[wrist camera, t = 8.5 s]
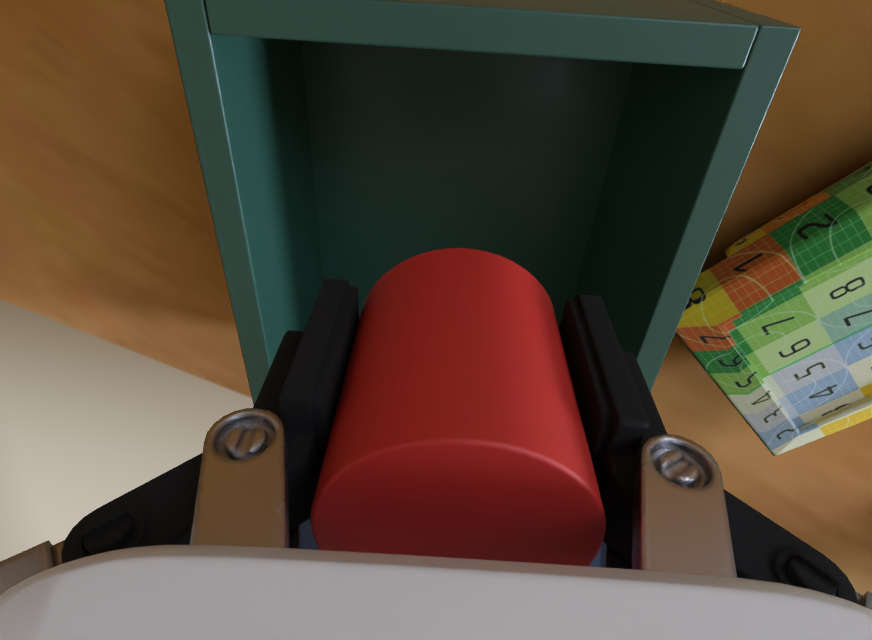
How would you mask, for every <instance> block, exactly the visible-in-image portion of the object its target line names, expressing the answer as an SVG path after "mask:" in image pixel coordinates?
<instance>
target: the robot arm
mask: <svg viewBox="0 0 872 640" xmlns="http://www.w3.org/2000/svg"><path fill="white" fill-rule="evenodd" d="M358 322H359V305H358V288H357V286H350V283H349V280H343V279H327V278H326V279H324V281H323V284H322V286H321V289H320V291H319V294H318V297H317V299H316V302H315V305H314V307H313V310H312V312H311V315H310V318H309V320H308V323H307V326H306V328H305V331H292V330H288V331H287V332H286V333H285V335H284V336H283V339H282V341H281V343H280V346H279V348H278V350H277V353H276V355H275V357H274V360H273V362H272V365H271V367H270V369H269V372H268V374H267V376H266V379H265V381H264V383H263V386H262V388H261V390H260V393H259V395H258V397H257V400H256V402H255V404H254V407H253V408H250V409H249V408H247V409H242V410H238V411H234V412H232V413H230V414H228V415H226V416H223V417H222V418H221V419H220V420H218V421H217V422H216V423H214V424H213V426H212V427H211V428H210V430H209V431H208V432H207V435H206V438H205V442H204V447H203V453H202V454H200V455H198V456H196V457H194V458H192V459H190V460H188V461H186V462H184V463H183V464H181V465H179V466H177V467H175V468H173V469H171V470H169V471H168V472H166V473H164V474H162V475H160V476H158V477H156V478H154V479H152V480H150V481H149V482H147V483H145V484H143V485H141V486H139V487H137V488H135V489H133V490H132V491H130V492H128V493H126V494H124V495H122V496H120V497H118V498H117V499H115V500H113V501H111V502H109V503H107V504H105V505H103V506H101V507H100V508H98V509H96V510H94V511H93V512H92V513H90V514H88V515H87V516H85V517H84V518H83V519H82V520H81V521H80V522H79V523H78V524H77V525H76V526H75V527H73V528H72V530H71V532H70V533H69V535H68V536H67V538H66V539H65V540H64V541H62V542H60V543H57V544H55V545H53V546H52V544H51V543H50V541H46V542H44V543H42V544H39V545H37V546H35V547H33V548H30V549H28V550H26V551H24V552H22V553H19V554H17V555H15V556H12V557H10V558H8V559H6V560H3V561H1V562H0V640H872V593H870V592H869V591H868V592H867V593H865V594H864V595H863V596H862V595H860V594H859V593H857V592H855V589H854V588H853V586H852V584H851V583H850V581H849V579H848V578H847V576H846V575H845V574H844V573H843V572H842V571H841V570H840V569H839V567H838V566H837V565H836V564H835V563H833V562H832V561H831V560H830V559H828V558H827V557H826V556H824V555H823V554H822V553H820V552H819V551H817V550H816V549H814V548H813V547H811V546H810V545H808V544H806V543H805V542H803V541H802V540H800V539H799V538H797V537H796V536H794V535H793V534H791V533H790V532H788V531H787V530H785V529H784V528H782V527H781V526H779V525H777V524H776V523H774V522H773V521H771V520H770V519H768V518H767V517H765V516H764V515H762V514H761V513H759V512H758V511H756V510H755V509H753V508H752V507H750V506H748V505H747V504H745V503H744V502H742V501H741V500H739V499H738V498H736V497H735V496H733V495H732V494H730V493H729V492H727V491H726V490H724V488H723V482H722V475H721V472H720V469H719V466H718V464H717V462H716V461H715V459H714V458H713V457H712V455H711V454H710V453H709V452H707V451H706V450H705V449H704V448H703V447H702V446H700V445H698V444H697V443H695V442H693V441H692V440H689V439H687V438H684V437H681V436H677V435H670V434H667V432H666V430H665V427H664V425H663V423H662V420H661V418H660V415H659V413H658V410H657V408H656V405H655V403H654V401H653V398H652V396H651V393H650V391H649V388H648V386H647V383H646V381H645V379H644V376H643V374H642V371H641V369H640V366H639V364H638V361H637V359H636V357H635V355H634V354H633V353H631V352H623V351H622V349H621V346H620V344H619V341H618V338H617V336H616V333H615V330H614V328H613V325H612V323H611V320H610V317H609V315H608V312H607V310H606V307H605V304H604V302H603V299H602V297H601V296H593V295H578V294H577V295H576V296H575V297H574V300H567V301H566V303H565V307H564V311H563V315H562V319H561V323H560V327H559V331H560V335H561V339H562V343H563V347H564V351H565V355H566V359H567V363H568V367H569V371H570V375H571V379H572V383H573V387H574V391H575V395H576V399H577V403H578V407H579V411H580V415H581V419H582V423H583V427H584V431H585V435H586V439H587V443H588V447H589V451H590V455H591V459H592V463H593V467H594V471H595V475H596V479H597V483H598V487H599V491H600V495H601V499H602V503H603V508H604V512H605V516H606V531H605V536H604V540H603V544H602V546H601V561H600V567H589V566H574V565H559V564H544V563H528V562H512V561H496V560H480V559H464V558H448V557H432V556H415V555H399V554H381V553H364V552H346V551H328V550H311V549H302V547H301V524H302V523H304V522H305V521H307V520H308V519H310V517H311V508H312V504H313V500H314V496H315V492H316V488H317V484H318V480H319V476H320V472H321V468H322V464H323V460H324V456H325V452H326V449H327V445H328V441H329V437H330V433H331V429H332V425H333V421H334V417H335V413H336V409H337V405H338V401H339V397H340V393H341V389H342V385H343V381H344V377H345V373H346V369H347V366H348V362H349V358H350V354H351V350H352V346H353V342H354V338H355V334H356V330H357V326H358Z"/></svg>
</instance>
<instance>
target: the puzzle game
mask: <svg viewBox="0 0 872 640" xmlns="http://www.w3.org/2000/svg"><path fill="white" fill-rule="evenodd" d="M724 251H725V253H726V256H727V258H726V259H725V260H723V261H721V262H719V263H718V264H716V265H714V266H713V267H711V268H709V269H708V270H706V271H704V272H702V273H700V274H699V276H698V279H697V281H696V283H695V286H694V288H693V291H692V293H691V295H690V298H689V300H688V303H687V305H686V308H685V310H684V312H683V315H682V317H681V320H680V322H679V324H678V327H677V329H676V332H675V333H676V335H677V336H678V337H679V338H680V340H681V341H682V342H683V343H684V345H685V346H686V347H687V348H688V350H689V351H690V352H691V353H692V355H693V356H694V357H695V358H696V360H697V361H698V362H699V363H700V365H701V366H702V367H703V368H704V370H705V371H706V372H707V373H708V375H709V376H710V377H711V378H712V380H713V381H714V382H715V383H716V385H717V386H718V387H719V388H720V390H721V391H722V392H723V393H724V395H725V396H726V397H727V398H728V400H729V401H730V402H731V403H732V405H733V406H734V407H735V408H736V410H737V411H738V412H739V413H740V415H741V416H742V417H743V418H744V420H745V421H746V422H747V423H748V425H749V426H750V427H751V428H752V430H753V431H754V432H755V433H756V435H757V436H758V437H759V438H760V440H761V441H762V442H763V443H764V445H765V446H766V447H767V448H768V450H769V451H770V452H771V453H772V455H773V456H776V455H779V454H781V453H784V452H786V451H789V450H791V449H794V448H796V447H799V446H802V445H804V444H807V443H809V442H812V441H814V440H817V439H819V438H822V437H824V436H827V435H830V434H832V433H835V432H837V431H840V430H842V429H845V428H847V427H850V426H852V425H855V424H858V423H860V422H863V421H865V420H868V419H870V418H872V161H871V162H869V163H867V164H866V165H864V166H862V167H861V168H859V169H857V170H856V171H854V172H852V173H850V174H849V175H847V176H845V177H844V178H842V179H840V180H839V181H837V182H835V183H834V184H832V185H830V186H829V187H827V188H825V189H823V190H822V191H820V192H818V193H817V194H815V195H813V196H812V197H810V198H808V199H807V200H805V201H803V202H802V203H800V204H798V205H797V206H795V207H793V208H791V209H790V210H788V211H786V212H785V213H783V214H781V215H780V216H778V217H776V218H775V219H773V220H771V221H770V222H768V223H766V224H765V225H763V226H761V227H759V228H758V229H756V230H754V231H753V232H751V233H749V234H748V235H746V236H744V237H743V238H741V239H739V240H738V241H736V242H735V243H734V244H732V245H731V246H730V247H728V248H727V249H726V250H724Z"/></svg>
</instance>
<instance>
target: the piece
mask: <svg viewBox="0 0 872 640" xmlns="http://www.w3.org/2000/svg"><path fill="white" fill-rule="evenodd" d="M310 520H311V528H312V533H313V536H314V539H315V542H316V544H317V546H318V548H319V550H328V551H346V552H364V553H381V554H399V555H415V556H432V557H448V558H464V559H480V560H496V561H512V562H528V563H544V564H559V565H574V566H589V565H590V564H591V562H592V561H593V560H594V558H595V557H596V556H597V554H598V552H599V550H600V548H601V546H602V544H603V540H604V536H605V531H606V516H605V512H604V508H603V503H602V499H601V495H600V491H599V487H598V483H597V479H596V475H595V471H594V467H593V463H592V459H591V455H590V451H589V447H588V443H587V439H586V435H585V431H584V427H583V423H582V419H581V415H580V411H579V407H578V403H577V399H576V395H575V391H574V387H573V383H572V379H571V375H570V371H569V367H568V363H567V359H566V355H565V351H564V347H563V343H562V339H561V335H560V331H559V327H558V323H557V319H556V315H555V311H554V307H553V304H552V302H551V300H550V297H549V295H548V294H547V292H546V291H545V289H544V287H543V286H542V285H541V284H540V283H539V282H538V280H537V279H536V278H535V277H534V276H533V275H531V274H530V273H529V272H528V271H527V270H526V269H524V268H523V267H521V266H519V265H518V264H516V263H515V262H513V261H511V260H509V259H507V258H505V257H502V256H500V255H497V254H494V253H491V252H487V251H482V250H477V249H468V248H446V249H439V250H433V251H429V252H425V253H422V254H419V255H416V256H414V257H411V258H409V259H407V260H405V261H403V262H401V263H400V264H398V265H396V266H394V267H393V268H392V269H391V270H389V271H388V272H387V273H385V274H384V275H383V276H382V277H381V278H380V279H379V280H378V281H377V282H376V284H375V285H374V286H373V288H372V289H371V290H370V292H369V294H368V296H367V298H366V299H365V301H364V304H363V307H362V311H361V314H360V318H359V322H358V326H357V330H356V334H355V338H354V342H353V346H352V350H351V354H350V358H349V362H348V366H347V369H346V373H345V377H344V381H343V385H342V389H341V393H340V397H339V401H338V405H337V409H336V413H335V417H334V421H333V425H332V429H331V433H330V437H329V441H328V445H327V449H326V452H325V456H324V460H323V464H322V468H321V472H320V476H319V480H318V484H317V488H316V492H315V496H314V500H313V504H312V508H311V517H310Z"/></svg>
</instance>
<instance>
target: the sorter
mask: <svg viewBox="0 0 872 640" xmlns="http://www.w3.org/2000/svg"><path fill="white" fill-rule="evenodd" d="M164 2H165V6H166V11H167V15H168V20H169V24H170V29H171V33H172V38H173V42H174V47H175V51H176V56H177V61H178V65H179V70H180V74H181V79H182V83H183V88H184V92H185V97H186V101H187V106H188V110H189V115H190V119H191V124H192V128H193V133H194V137H195V142H196V146H197V151H198V156H199V160H200V165H201V169H202V174H203V178H204V183H205V187H206V192H207V196H208V201H209V205H210V210H211V214H212V219H213V223H214V228H215V232H216V237H217V241H218V246H219V250H220V255H221V260H222V264H223V269H224V273H225V278H226V282H227V287H228V291H229V296H230V300H231V305H232V309H233V314H234V318H235V323H236V327H237V332H238V336H239V341H240V345H241V350H242V355H243V359H244V364H245V368H246V373H247V377H248V382H249V386H250V391H251V395H252V400H253V404H255V402H256V400H257V397H258V395H259V393H260V390H261V388H262V386H263V383H264V381H265V379H266V376H267V374H268V372H269V369H270V367H271V365H272V362H273V360H274V357H275V355H276V353H277V350H278V348H279V346H280V343H281V341H282V339H283V336H284V335H285V333H286V332H287V331H288V330H292V331H305V328H306V326H307V323H308V320H309V318H310V315H311V312H312V310H313V307H314V305H315V302H316V299H317V297H318V294H319V291H320V289H321V286H322V284H323V281H324V279H326V278H327V279H343V280H349V283H350V286H357V288H358V305H359V318H360V314H361V311H362V307H363V304H364V301H365V299H366V298H367V296H368V294H369V292H370V290H371V289H372V288H373V286H374V285H375V284H376V282H377V281H378V280H379V279H380V278H381V277H382V276H383V275H384V274H385V273H387V272H388V271H389V270H391V269H392V268H393V267H394V266H396V265H398V264H400V263H401V262H403V261H405V260H407V259H409V258H411V257H414V256H416V255H419V254H422V253H425V252H429V251H433V250H439V249H446V248H468V249H477V250H482V251H487V252H491V253H494V254H497V255H500V256H502V257H505V258H507V259H509V260H511V261H513V262H515V263H516V264H518V265H519V266H521V267H523V268H524V269H526V270H527V271H528V272H529V273H530V274H531V275H533V276H534V277H535V278H536V279H537V280H538V282H539V283H540V284H541V285H542V286H543V287H544V289H545V291H546V292H547V294H548V295H549V297H550V300H551V302H552V304H553V307H554V311H555V315H556V319H557V323H558V327H560V323H561V319H562V315H563V311H564V307H565V303H566V301H567V300H574V297H575V296H576V295H577V294H578V295H593V296H601V297H602V299H603V302H604V304H605V307H606V310H607V312H608V315H609V317H610V320H611V323H612V325H613V328H614V330H615V333H616V336H617V338H618V341H619V344H620V346H621V349H622V351H623V352H631V353H633V354H634V355H635V357H636V359H637V361H638V364H639V366H640V369H641V371H642V374H643V376H644V379H645V381H646V383H647V386H648V388H649V391H650V392H651V389H652V387H653V384H654V382H655V380H656V377H657V375H658V372H659V370H660V368H661V365H662V363H663V360H664V358H665V356H666V353H667V351H668V348H669V346H670V344H671V341H672V339H673V336H674V334H675V332H676V329H677V327H678V324H679V322H680V320H681V317H682V315H683V312H684V310H685V308H686V305H687V303H688V300H689V298H690V295H691V293H692V291H693V288H694V286H695V283H696V281H697V279H698V276H699V274H700V271H701V269H702V267H703V264H704V262H705V259H706V257H707V255H708V252H709V250H710V247H711V245H712V243H713V240H714V238H715V235H716V233H717V231H718V228H719V226H720V223H721V221H722V218H723V216H724V214H725V211H726V209H727V206H728V204H729V202H730V199H731V197H732V194H733V192H734V190H735V187H736V185H737V182H738V180H739V178H740V175H741V173H742V170H743V168H744V166H745V163H746V161H747V158H748V156H749V154H750V151H751V149H752V146H753V144H754V142H755V139H756V137H757V134H758V132H759V129H760V127H761V125H762V122H763V120H764V117H765V115H766V113H767V110H768V108H769V105H770V103H771V101H772V98H773V96H774V93H775V91H776V89H777V86H778V84H779V81H780V79H781V77H782V74H783V72H784V69H785V67H786V65H787V62H788V60H789V57H790V55H791V53H792V50H793V48H794V45H795V43H796V40H797V38H798V36H799V33H800V31H801V28H800V27H797V26H794V25H791V24H788V23H784V22H781V21H778V20H775V19H772V18H769V17H766V16H762V15H759V14H756V13H753V12H750V11H747V10H744V9H740V8H737V7H734V6H731V5H728V4H725V3H722V2H718V1H715V0H164Z"/></svg>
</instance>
